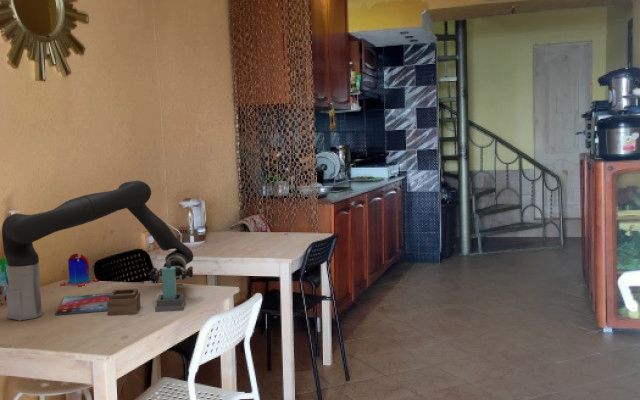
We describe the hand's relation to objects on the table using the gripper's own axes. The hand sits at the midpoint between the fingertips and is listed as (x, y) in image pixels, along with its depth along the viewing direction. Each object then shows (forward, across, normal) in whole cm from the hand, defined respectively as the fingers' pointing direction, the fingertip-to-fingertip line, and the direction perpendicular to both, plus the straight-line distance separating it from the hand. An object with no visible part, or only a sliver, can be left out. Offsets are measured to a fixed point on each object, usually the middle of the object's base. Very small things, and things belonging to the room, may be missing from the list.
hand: (170, 277), depth 215 cm
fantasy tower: (-41, -40, +10) cm, 58 cm away
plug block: (+1, 0, +9) cm, 9 cm away
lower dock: (+1, 0, +10) cm, 10 cm away
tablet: (-9, -29, +11) cm, 32 cm away
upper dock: (+3, -15, +10) cm, 18 cm away
